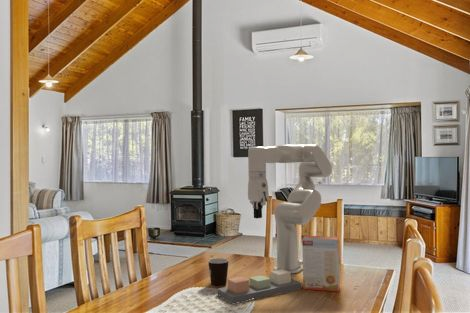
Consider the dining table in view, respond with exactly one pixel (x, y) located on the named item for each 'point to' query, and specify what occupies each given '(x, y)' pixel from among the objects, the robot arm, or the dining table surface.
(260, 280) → the sage button
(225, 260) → the coffee mug
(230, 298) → the button panel
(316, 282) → the cracker box
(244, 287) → the terracotta button
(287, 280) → the cream button
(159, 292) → the dining table surface
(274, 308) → the dining table surface
